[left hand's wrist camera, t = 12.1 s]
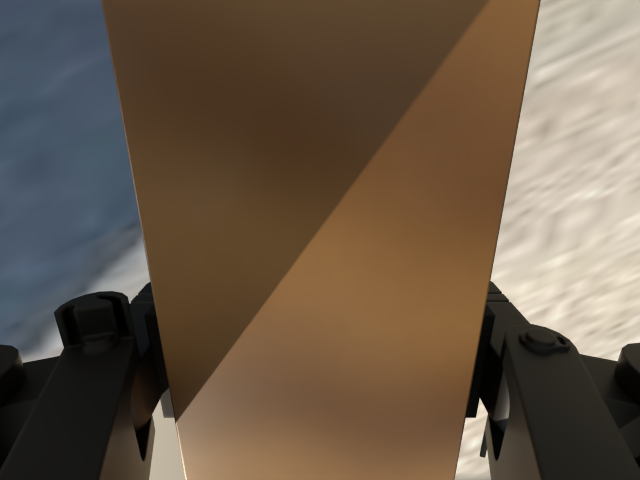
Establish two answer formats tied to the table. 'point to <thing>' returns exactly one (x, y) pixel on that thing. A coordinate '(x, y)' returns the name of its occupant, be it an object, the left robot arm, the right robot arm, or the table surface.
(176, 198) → the post
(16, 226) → the table surface
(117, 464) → the left robot arm
